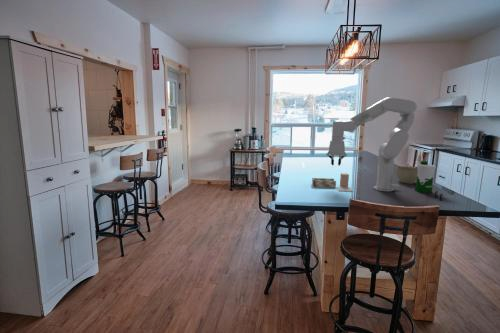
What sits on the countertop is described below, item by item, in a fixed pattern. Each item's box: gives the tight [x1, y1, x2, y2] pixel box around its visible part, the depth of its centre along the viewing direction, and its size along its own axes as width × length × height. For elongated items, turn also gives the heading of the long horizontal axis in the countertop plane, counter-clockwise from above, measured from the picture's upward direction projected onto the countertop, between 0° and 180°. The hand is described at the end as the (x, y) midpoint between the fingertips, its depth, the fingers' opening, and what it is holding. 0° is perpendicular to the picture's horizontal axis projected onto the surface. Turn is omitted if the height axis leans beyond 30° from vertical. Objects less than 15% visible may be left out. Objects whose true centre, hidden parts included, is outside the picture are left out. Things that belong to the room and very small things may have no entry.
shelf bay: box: [311, 177, 337, 189], centre depth 206 cm, size 15×8×4 cm, turn 84°
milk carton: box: [414, 160, 437, 194], centre depth 193 cm, size 9×9×20 cm
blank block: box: [339, 172, 350, 187], centre depth 204 cm, size 4×4×9 cm
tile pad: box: [336, 186, 354, 193], centre depth 197 cm, size 9×9×1 cm
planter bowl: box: [395, 165, 418, 184], centre depth 219 cm, size 16×16×11 cm
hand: (335, 164), depth 203 cm, fingers open, 3 cm apart
